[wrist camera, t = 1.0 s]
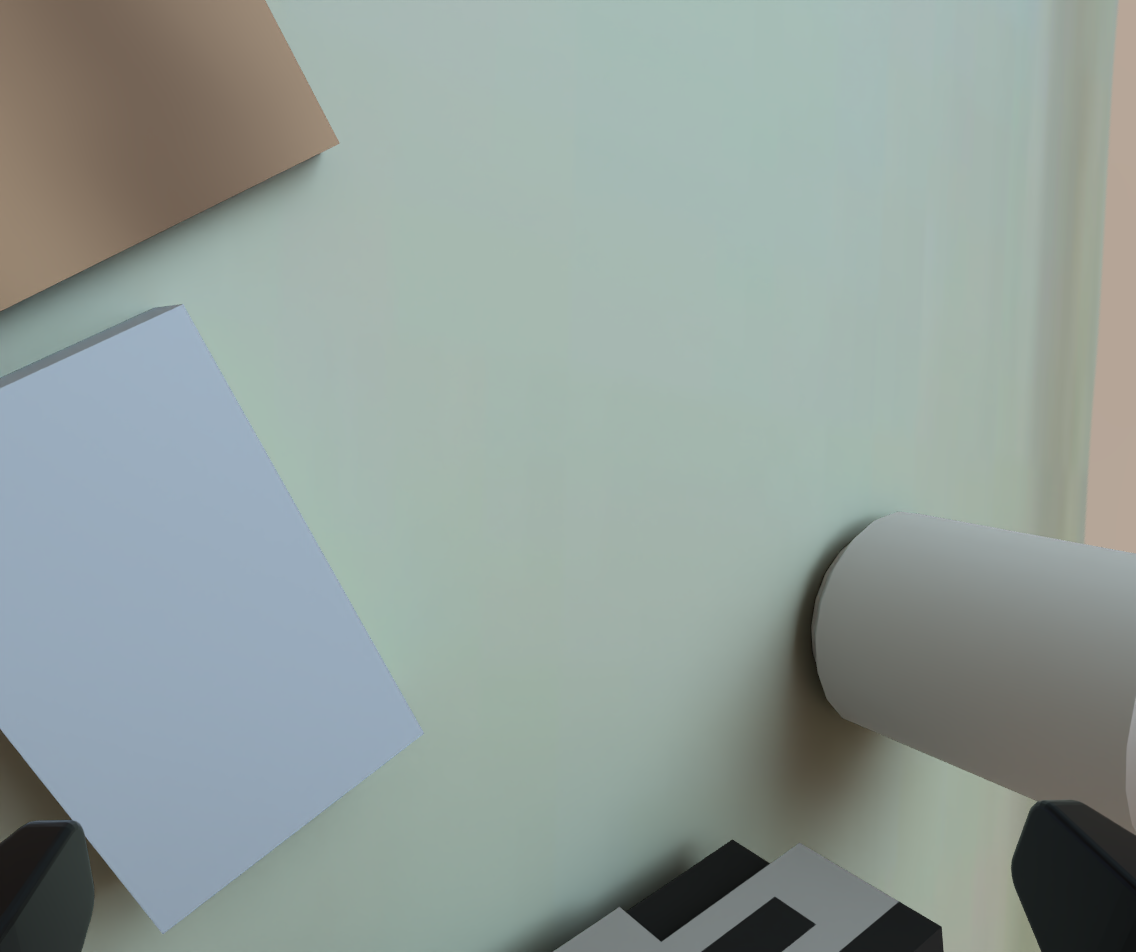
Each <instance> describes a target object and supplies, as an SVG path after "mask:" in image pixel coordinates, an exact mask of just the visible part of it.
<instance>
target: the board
mask: <svg viewBox="0 0 1136 952" xmlns="http://www.w3.org/2000/svg"><path fill="white" fill-rule="evenodd" d="M337 144H339V141H338V139H337V137H336V136H335V134H334V132H333V130H332V128H331V126H330V124H329V122H328V120H327V118H326V116H325V114H324V113H323V111H322V109H321V107H320V105H319V103H318V101H317V99H316V97H315V95H314V93H313V91H312V89H311V88H310V86H309V84H308V82H307V80H306V78H305V76H304V74H303V72H302V70H301V68H300V66H299V65H298V63H297V61H296V59H295V57H294V55H293V53H292V51H291V49H290V47H289V45H288V43H287V41H286V40H285V38H284V36H283V34H282V32H281V30H280V28H279V26H278V24H277V22H276V20H275V18H274V17H273V15H272V13H271V11H270V9H269V7H268V5H267V3H266V1H265V0H0V311H2V310H4V309H6V308H8V307H10V306H12V305H14V304H16V303H18V302H20V301H22V300H24V299H26V298H28V297H30V296H32V295H34V294H36V293H38V292H41V291H43V290H45V289H47V288H49V287H51V286H53V285H55V284H57V283H59V282H61V281H63V280H65V279H67V278H69V277H71V276H73V275H75V274H77V273H79V272H81V271H83V270H85V269H87V268H89V267H91V266H93V265H95V264H97V263H99V262H101V261H103V260H105V259H107V258H109V257H111V256H113V255H115V254H117V253H119V252H121V251H123V250H125V249H127V248H129V247H131V246H133V245H135V244H137V243H139V242H142V241H144V240H146V239H148V238H150V237H152V236H154V235H156V234H158V233H160V232H162V231H164V230H166V229H168V228H170V227H172V226H174V225H176V224H178V223H180V222H182V221H184V220H186V219H188V218H190V217H192V216H194V215H196V214H198V213H200V212H202V211H204V210H206V209H208V208H210V207H212V206H214V205H216V204H218V203H220V202H222V201H224V200H226V199H228V198H230V197H232V196H234V195H236V194H238V193H240V192H243V191H245V190H247V189H249V188H251V187H253V186H255V185H257V184H259V183H261V182H263V181H265V180H267V179H269V178H271V177H273V176H275V175H277V174H279V173H281V172H283V171H285V170H287V169H289V168H291V167H293V166H295V165H297V164H299V163H301V162H303V161H305V160H307V159H309V158H311V157H313V156H315V155H317V154H319V153H321V152H323V151H325V150H327V149H329V148H331V147H333V146H335V145H337Z"/></svg>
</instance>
